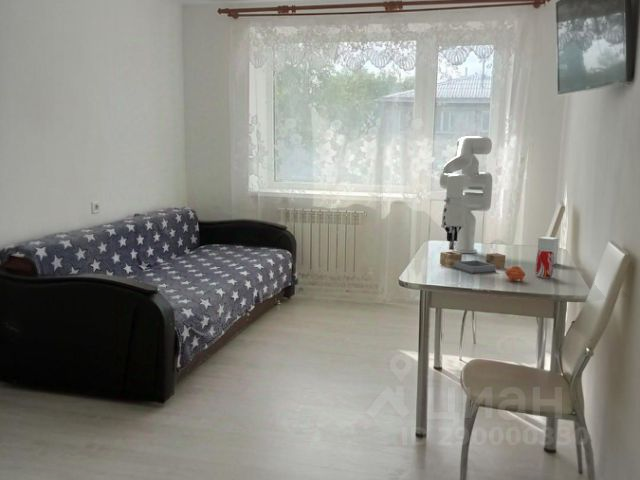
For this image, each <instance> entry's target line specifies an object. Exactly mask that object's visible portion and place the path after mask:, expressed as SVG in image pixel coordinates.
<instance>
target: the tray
mask: <svg viewBox="0 0 640 480" xmlns="http://www.w3.org/2000/svg"><path fill="white" fill-rule="evenodd" d="M453 269H455V270H458V271H462V272H465V273H468V274H471V275H475V274H487V273H489V274H490V273H496V271H497V269H496V265H493V264H489V263H486V261H482V260H478V259H474V260H462V261H458V262H454V267H453Z"/></svg>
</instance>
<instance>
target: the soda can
mask: <svg viewBox="0 0 640 480" xmlns="http://www.w3.org/2000/svg"><path fill="white" fill-rule="evenodd" d="M535 259H536V260H535V271H534V272H535V276H537V277H538V278H541V279H549V278H551V277H553V271H554V264H553V262H554V253H553V250H551V249H539V251H538V250H537V252H536V258H535Z"/></svg>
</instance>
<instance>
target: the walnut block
mask: <svg viewBox="0 0 640 480" xmlns="http://www.w3.org/2000/svg"><path fill="white" fill-rule="evenodd" d="M485 256H486V257H485V262H486V263H489V264H493V265H496V270H497V269H505V268H506V267H505V266H506V255H505V254H502V253H497V252H493V253H486V255H485Z"/></svg>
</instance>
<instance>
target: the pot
mask: <svg viewBox="0 0 640 480" xmlns="http://www.w3.org/2000/svg"><path fill="white" fill-rule="evenodd" d="M505 275H506V276H507V278H508V281H509V283H510V282H512V280H515V281H517V280H520V283H521V282H523V280H524V278H525V277H526V273H525V271H524V270H523V269H522V268H521V267H519V266H513V265H512V266H511V267H509V268H507V269H506V270H505Z"/></svg>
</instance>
